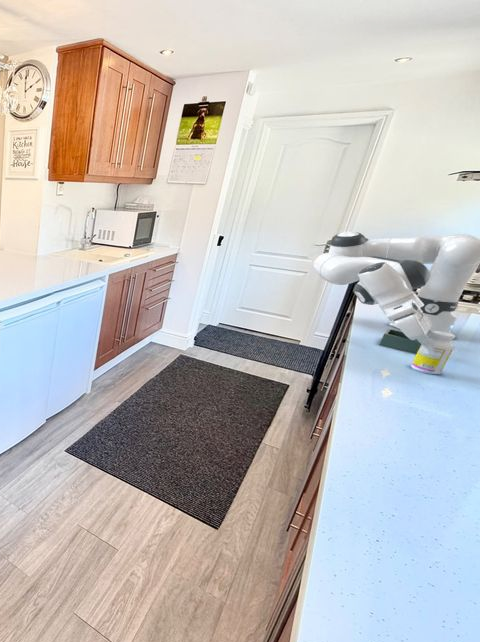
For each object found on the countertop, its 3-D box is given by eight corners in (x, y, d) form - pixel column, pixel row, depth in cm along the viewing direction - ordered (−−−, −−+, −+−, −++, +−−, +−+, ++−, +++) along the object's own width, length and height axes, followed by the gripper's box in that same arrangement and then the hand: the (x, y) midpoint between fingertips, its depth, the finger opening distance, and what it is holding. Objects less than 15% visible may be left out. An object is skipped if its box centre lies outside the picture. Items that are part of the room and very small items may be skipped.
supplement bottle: (426, 366, 132) (444, 330, 127) (446, 375, 126) (466, 338, 121) (404, 365, 132) (422, 328, 128) (423, 374, 126) (442, 336, 122)
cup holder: (383, 339, 155) (388, 328, 153) (420, 347, 148) (426, 336, 146) (379, 345, 149) (384, 333, 147) (417, 354, 142) (423, 342, 140)
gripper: (394, 307, 139) (422, 342, 135) (385, 317, 126) (415, 356, 123) (419, 297, 134) (448, 334, 130) (411, 307, 122) (443, 348, 118)
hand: (432, 345), depth 127 cm, fingers open, 8 cm apart
